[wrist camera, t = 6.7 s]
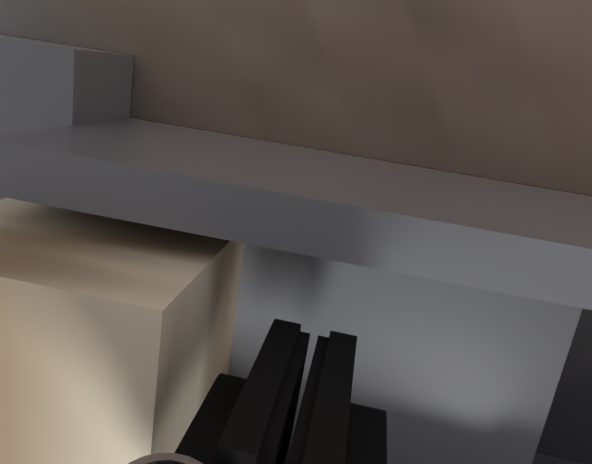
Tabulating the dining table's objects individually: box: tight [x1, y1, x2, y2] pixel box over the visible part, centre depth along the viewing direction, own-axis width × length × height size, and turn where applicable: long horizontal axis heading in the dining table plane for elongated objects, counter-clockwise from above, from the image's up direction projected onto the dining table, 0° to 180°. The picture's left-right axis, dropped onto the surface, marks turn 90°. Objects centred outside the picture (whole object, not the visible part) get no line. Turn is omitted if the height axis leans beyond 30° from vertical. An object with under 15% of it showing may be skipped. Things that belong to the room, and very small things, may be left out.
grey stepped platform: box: [0, 35, 592, 464], centre depth 13 cm, size 34×12×6 cm, turn 82°
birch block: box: [0, 198, 245, 464], centre depth 11 cm, size 5×5×5 cm
